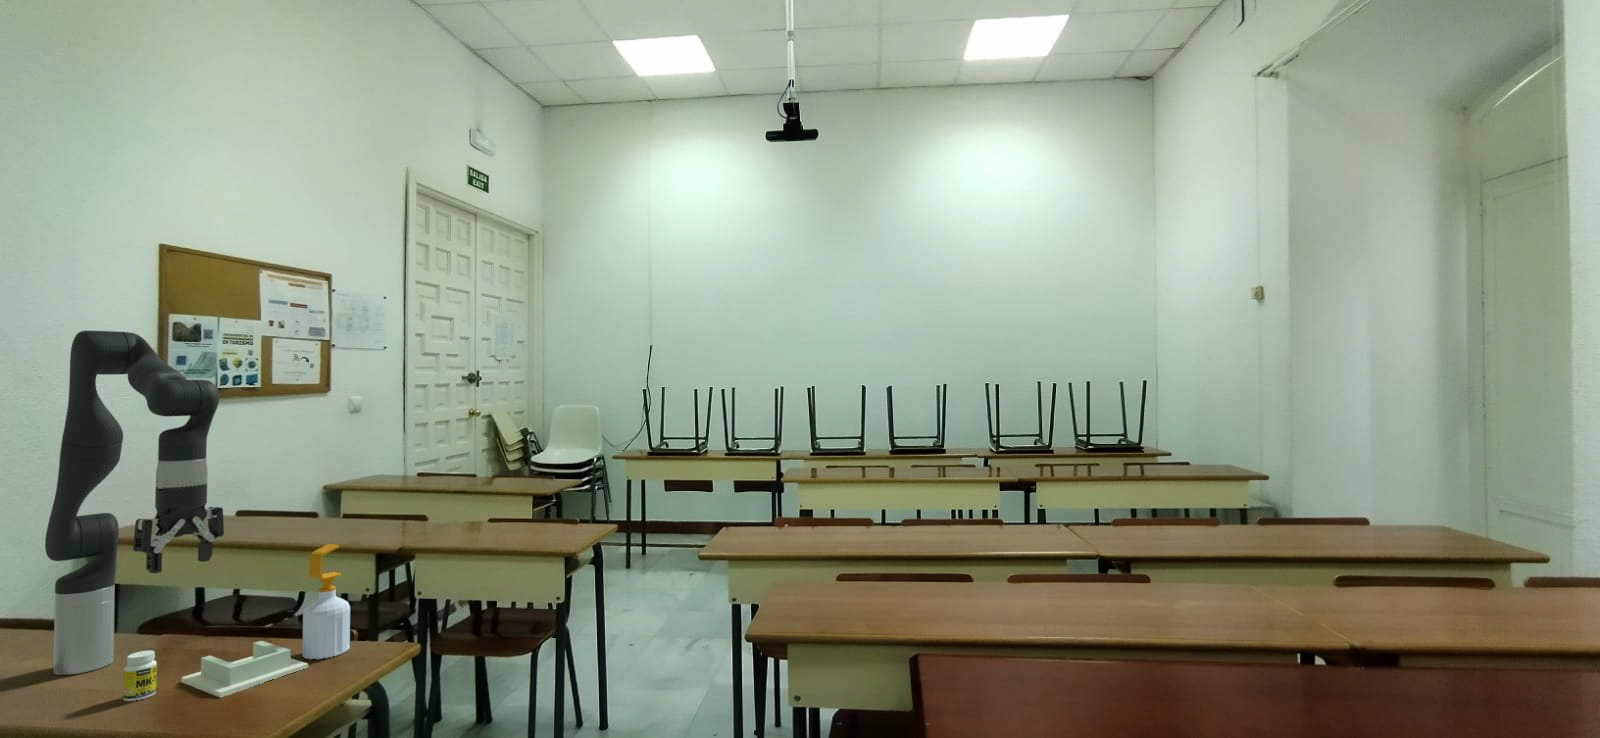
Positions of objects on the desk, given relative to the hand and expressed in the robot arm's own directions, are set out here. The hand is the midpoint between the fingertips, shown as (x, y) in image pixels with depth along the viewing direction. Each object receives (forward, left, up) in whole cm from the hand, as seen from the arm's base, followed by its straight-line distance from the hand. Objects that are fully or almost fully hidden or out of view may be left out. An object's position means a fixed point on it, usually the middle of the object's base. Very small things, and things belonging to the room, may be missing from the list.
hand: (180, 566), depth 135 cm
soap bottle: (-3, +29, -27) cm, 39 cm away
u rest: (-5, +14, -27) cm, 30 cm away
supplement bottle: (-12, -1, -27) cm, 30 cm away
